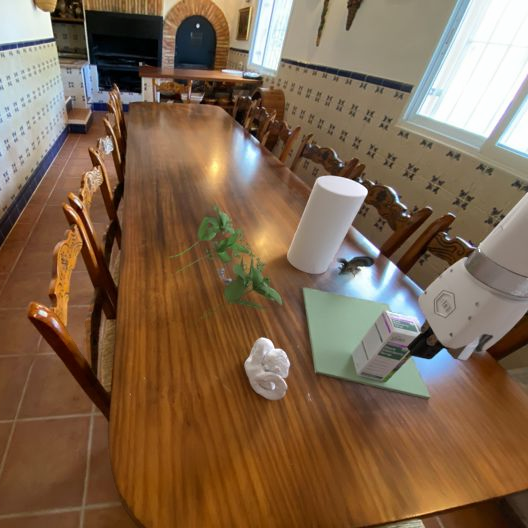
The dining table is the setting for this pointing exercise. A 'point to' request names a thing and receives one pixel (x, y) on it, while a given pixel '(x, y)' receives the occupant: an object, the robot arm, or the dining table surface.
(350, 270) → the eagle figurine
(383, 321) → the syrup box
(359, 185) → the cylinder
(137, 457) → the dining table surface
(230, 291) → the plant cuttings
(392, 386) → the felt mat
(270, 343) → the baby figurine
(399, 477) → the dining table surface
